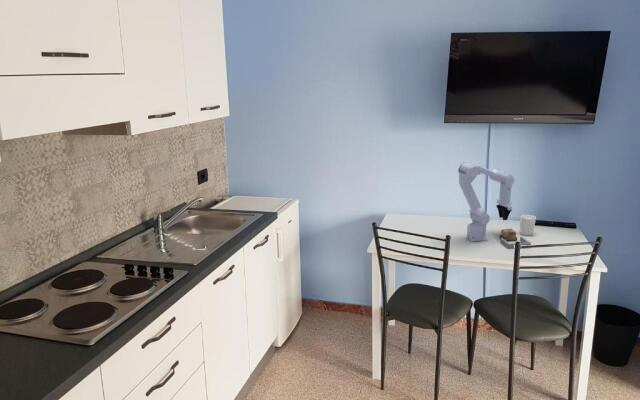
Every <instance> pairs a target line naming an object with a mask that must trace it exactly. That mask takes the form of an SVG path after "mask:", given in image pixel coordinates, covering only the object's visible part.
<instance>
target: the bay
mask: <svg viewBox="0 0 640 400" xmlns="http://www.w3.org/2000/svg"><path fill="white" fill-rule="evenodd" d="M499 241H500V244H502V245H503V246H504V247H505V248H507V249H509V250H512V249H514V245H515V243H516V242H515V243H514V242H513V243H512V242H511V243H509V242H508V240H504V239H503V238H501V239H500V238H499ZM520 241H521V242H520ZM519 242H520V243H521V245H532V243H531V242H530V241H528V240H527V239H526V238H525V237H523V236H520V240H519ZM514 250H515V249H514Z"/></svg>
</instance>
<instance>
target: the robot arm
mask: <svg viewBox="0 0 640 400" xmlns="http://www.w3.org/2000/svg"><path fill="white" fill-rule="evenodd" d="M457 172H458V184H459V186H460V188H461V191H462V192H463V193H462V194H464V197H465V199H466V201H467V204H468V206H469V208H470V209H469V217H470V219H471V223H468V224H467V227H466V229H467V230H466V238H467V239H469V240H470V241H471V242H481V241H484V242H485V241H489V239H488V238H487V236H486V235H487V234H486V233H487V225H488V224H489V222H490V219H491V218H490V217H491V216H490V215H489V213H487V212H486V210H485V209H484V208H483V207H482V205H481V203H480V201H479V199H478V197H477V195H476V192H475V189H474V188H473V185H472V183H473V181H474V180H475V179H476V178H477V176H478V175H479V176H480V175H481V174H483V175H486V176H489V179H490V180H492V181H495V182H498V183H499V184H500V185H499V197H498V198H499V199H496V205H495V206H496V208H497V211H498V216H499V218H500V219H501V218H502V221H507V220H508V218H509V215H510V214H511V212H512V211H513V206H512V205H513V203H512V202H511V196H512V195H511V194H512V187H513V184H514V183H515V178H514V176H513V175H511V174H510V173H509V174H508V173H507V172H506V171H502V170H501V169H500V168H499V169H498V168H494V169H492V170H491V169H489V168H487V167H484V166H483V165H479V164H475V163H468V162H461V164H460V165H459V166H458V169H457Z"/></svg>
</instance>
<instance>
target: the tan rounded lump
mask: <svg viewBox="0 0 640 400" xmlns="http://www.w3.org/2000/svg"><path fill="white" fill-rule="evenodd" d="M498 238H499V240H500V239H501V238H503V239H504V240H506V241H517V240H518V237H517V231H516V230H515V229H513V228H502V229H501V230H500V234H499V237H498Z"/></svg>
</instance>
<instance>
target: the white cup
mask: <svg viewBox="0 0 640 400" xmlns="http://www.w3.org/2000/svg"><path fill="white" fill-rule="evenodd" d="M536 221H537V217H536V216H535V215H532V214H521V215H520V221H519V229H520V231H519V234H520V235H522V236H529V237H530V236H532V235H534V230H535V224H536Z"/></svg>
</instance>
